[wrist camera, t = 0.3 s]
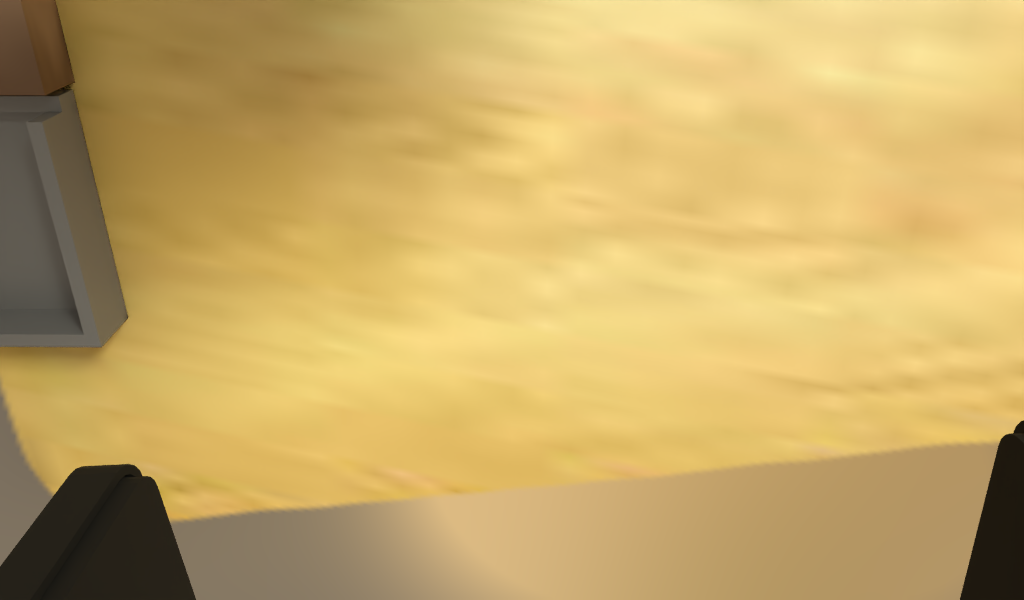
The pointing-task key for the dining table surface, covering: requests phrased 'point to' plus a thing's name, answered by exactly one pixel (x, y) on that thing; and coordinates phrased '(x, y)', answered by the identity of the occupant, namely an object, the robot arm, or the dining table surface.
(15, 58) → the flat wooden board
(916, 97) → the dining table surface
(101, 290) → the tray
